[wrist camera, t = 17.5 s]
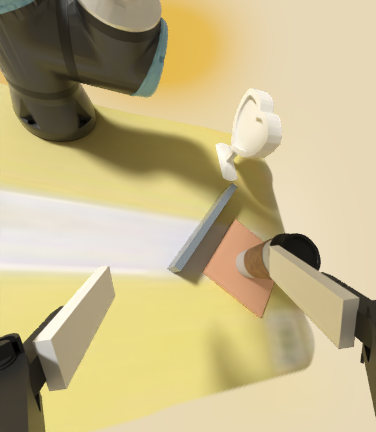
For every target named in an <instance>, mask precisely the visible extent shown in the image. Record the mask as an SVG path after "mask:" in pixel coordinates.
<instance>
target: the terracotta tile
mask: <svg viewBox="0 0 376 432" xmlns="http://www.w3.org/2000/svg"><path fill="white" fill-rule="evenodd" d="M261 243H263V241H262V240H261V239H259V238H258V237H257V236H256V235H254V234H253V233H252V232H251V231H249V230H248V229H247V228H246V227H245V226H243V225H242V224H241V223H240V222H238V221H237V220H236V219H235V220H234V221H233V222H232V224H231V226H230V227H229V229H228V231H227V232H226V234H225V236H224V237H223V239H222V241H221V242H220V244H219V246H218V247H217V249H216V250H215V252H214V254H213V255H212V257H211V259H210V260H209V262H208V264H207V265H206V267H205V269H204V270H203V272H202V273H204V274H205V275H206V276H207V277H209V278H210V279H211V280H212V281H214V282H215V283H216V284H217V285H219V286H220V287H221V288H222V289H224V290H225V291H226V292H227V293H229V294H230V295H231V296H233V297H234V298H235V299H236V300H238V301H239V302H240V303H241V304H243V305H244V306H245V307H246V308H248V309H249V310H250V311H251V312H253V313H254V314H255V315H256V316H258V317H260V318H261V317H262V314H263V311H264V309H265V306H266V303H267V301H268V298H269V295H270V293H271V290H272V287H273V285H274V281H273V280H269V279H260V278H250V277H245V276H243V275H241V274H240V273H239V271H238V269H237V267H236V258H237V256H238V254H240V253H241V252H243V251H245V250H248V249H250V248H252V247H254V246H256V245H259V244H261Z"/></svg>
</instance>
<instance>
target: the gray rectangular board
mask: <svg viewBox="0 0 376 432" xmlns="http://www.w3.org/2000/svg"><path fill="white" fill-rule="evenodd" d="M236 188H237V186H236V185H234V184H233V183H232V184H231V185H230V186H229V187H228V188H227V189H226V190H225V191H224V192H223V193H222V194H221V195H220V196H219V197H218V199H217V200H216V202H215V203H214V204H213V206H212V207H211V209H210V210H209V211H208V213H207V214H206V215H205V217H204V218H203V220H202V221H201V222H200V224H199V225H198V227H197V228H196V229H195V231H194V232H193V234H192V235H191V236H190V238H189V239H188V240H187V242H186V243H185V245H184V246H183V247H182V249H181V250H180V252H179V253H178V254H177V256H176V257H175V259H174V260H173V261H172V263H171V264H170V265H169V267H168V269H169V270H170V271H171V272H173V273H175V272H179V271H181V270H182V268H183V267H184V266H185V264H186V263H187V261H188V260H189V258H190V257H191V255H192V254H193V252H194V251H195V249H196V248H197V246H198V245H199V243H200V242H201V240H202V239H203V237H204V236H205V234H206V233H207V231H208V230H209V228H210V227H211V225H212V224H213V222H214V221H215V219H216V218H217V216H218V215H219V213H220V212H221V211H222V209H223V208H224V206H225V205H226V203H227V202H228V200H229V199H230V197H231V196H232V194H233V193H234V191H235V190H236Z"/></svg>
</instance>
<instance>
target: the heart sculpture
mask: <svg viewBox="0 0 376 432" xmlns="http://www.w3.org/2000/svg"><path fill="white" fill-rule="evenodd" d="M273 107H274V103H273V100H272V98H271V96H270V95H269V94H268V93H266V92H264V91H260V90H257V89H253V88H251V89H249V90H248V91H247V93H246V94H245V95H244V96H243V98H242V100H241V102H240V104H239V106H238V109H237V112H236V115H235V118H234V123H233V129H232V138H231V147H230V146H228V145H227V144H224V143H218V144H216V149H217V153H218V158H219V163H220V167H221V172H222V177H223V178H224V179H226V180H228V181H234V180H236V179H238V177H237V173H236V169H235V165H234V161H233V159H234V158H235V157H236V156H237V154H238V155H240V156H242V157H245V158H254V159H258V158H265V157H266V156H268V155H269V154H271V153H272V152H273V151H274V150H275V149H276V148H277V147H278V146H279V145H280V142H281V139H282V127H281V121H280V118H279V116H277V115H275V114H273Z"/></svg>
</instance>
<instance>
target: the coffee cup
mask: <svg viewBox="0 0 376 432" xmlns="http://www.w3.org/2000/svg"><path fill="white" fill-rule="evenodd" d="M276 245H279V246H280V247H282V248H283V249H285V250H287V251H288V252H290V253H291V254H293V255H294V256H296V257H297V258H299V259H300V260H302V261H303V262H305V263H307V264H308V265H310V266H311V267H313V268H314V269H316V270H317V271H319V268H320V264H321V260H320V255H319V251H318V248H317V247H316V245H315V244H314V243H313V242H312V241H311V240H310V239H309V238H308V237H306V236H305V235H302V234H298V233H296V234H285V233H284V234H279V235H277V236H275V237H274V238H273V239H269V240H267V241H265V242H263V243H261V244H259V245H256V246H254V247H252V248H250V249H248V250H245V251H243V252H241V253H240V254H238V256H237V258H236V267H237V269H238V271H239V273H240V274H241V275H243V276H245V277H250V278H260V279H269V280H273V279H272V278H271V277H270V264H269V246H276Z"/></svg>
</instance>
